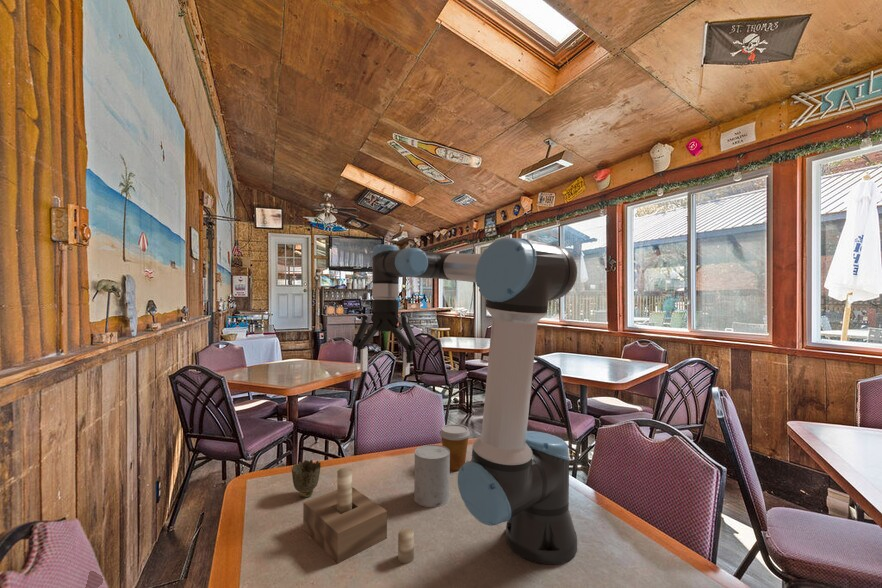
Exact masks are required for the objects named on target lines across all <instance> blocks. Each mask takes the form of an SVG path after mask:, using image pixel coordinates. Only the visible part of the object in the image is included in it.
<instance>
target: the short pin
mask: <svg viewBox="0 0 882 588" xmlns="http://www.w3.org/2000/svg"><path fill="white" fill-rule="evenodd" d="M397 534H398V535H397V537H398V538H397V539H398V540H397V545H398V546H397V560H398V562H400V563H401V564H404V565H405V564H409V563H411V562H413V561H414V558H415V555H414V554H415V553H414V551H415V550H414V549H415V533H414V531H413V529H410V528H404V529H401V530H399V531H398V533H397Z"/></svg>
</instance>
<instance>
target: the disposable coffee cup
mask: <svg viewBox="0 0 882 588" xmlns="http://www.w3.org/2000/svg"><path fill="white" fill-rule="evenodd" d="M470 432H471V431H470V429H469V427H468V426H466V425H464V424H457V423H454V424H453V423H451V424H446V425H443V426H442V427H441V429H440V431H439V434H440V437H441V443H442V444H441V446H444V447H446V448H448V449H449V450H450V471H453V472H459V469H460V468H461V466H463V465H464V464H465V463H466V461H467V460H466V458H467V451H468V450H467V449H468V444H469V443H468V442H469V437H470V435H471V433H470Z"/></svg>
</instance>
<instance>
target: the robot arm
mask: <svg viewBox="0 0 882 588" xmlns="http://www.w3.org/2000/svg"><path fill="white" fill-rule="evenodd" d="M371 261H372V263H371V264H372V266H371V267H372V268H371V269H372V270H371V271H372V273H371V274H372V275H371V276H372V277H371V278H372V291H371V297H372V298H373V299H372V300H371V301H372V302H371V305H372V306H371V312H372V314H371V315H369V314H365V315H362V317H361V323H360V325H359V328H358V330H357V332H356V334H355V336H354V339H353V341H352V344H351V346H352V347H356V348H357V350H358V353H357V357H358V360H359V361H360V372H361V373H365V372H367V371H368V364H369V363H368V356H369V353H368V348H367V345H368V344H369V343H370V342H371V340H372V339H373V338H374V336H375V335H376V334H377V333H378V332H387V333H389V332H391V333H392V334H393V335H394V336H395V338H396V339H397V340H398V342H399V343H400V344H401V346H402V347H403V348H404V350H405V351H403V357H402V359H403V360H402V363H403V364H402V365H403V366H402V375H403V376H407V375H409V374H410V369H411V367H410V366H411V365H410V364H411V363H413V354H414V353H413V352H414V351H415V350H418V349H419V348H420V345H419V342H418V341H417V338H416V336H415V334H414V331H413V329H412V326H411V325H410V318H409V316H408V315H404V316H399V300H398V299H397V298H399V292H400V291H399V286H400V285H399V283H400V282H399V281H400V280H399V278H418V279H435V280H436V279H438V280H446V281H448V280H449V281H460V282H468V283H476V287H478V292H479V293H480V295H482V296H483V297H484V298H485V307H484V308H485V310H486V311H487V312H488V313H489V315H490V317H491V318H492V319H491V327H490V328H491V330H490V339H489V347H488V348H489V349H488V359H487V361H488V362H487V371H486V373H487V374H486V380H485V381H486V382H485V390H484V391H485V393H484V403H483V413H482V414H483V415H482V427H481V435H479V436H478V437H476V438H475V439H474V440H473V443H472V448H471V449H472V450H471V458H470V459H471V460H469V461H467V460H466V461H465V464H464V465H463V466H461V468H460V469H459V471H457V472H458V474H457V485H458V486H457V487H458V491H459V495H460V498H461V500H462V501H463V504H464V506H465V508H466V509H467V510H468V512H469V513H470V515H472V517H473V518H474V519H475V520H477V521H478V522H480V523H481V524H484V525H486V526H490V527H491V526H492V527H493V526H498V525H500V524H502V523H505V522H506V526H505V539H506V543H507V545H508V547H510V549H511V550H512V551H514V553H515V554H517V555H518V556H520V557H522V558H523V559H526V560H527V561H531V562H534V563H538V564H543V565H558V564H562V563H567V562H569V561H570V560H571V559H573V558H574V557H575V556H576V554H577V552H578V534H577V532H576V529H575V526H574V523H573V520H572V517H571V516H572V515H571V512H570V510H569V509H570V508H569V507H570V505H569V504H570V502H569V501H570V499H569V497H570V493H569V492H570V460H571V459H570V455H569V445H568V444H567V442H566V441H565V440H563V438H561V437H559V436H557V435H553V434H550V433H546V432H543V431H542V432H541V431H536V430H528V423H529V422H528V421H529V415H530V414H529V413H530V404H531V403H530V402H531V401H530V400H531V393H532V383H533V374H534V373H533V371H534V364H535V353H536V342H537V333H538V325H539V321H541V319H543V318H544V317H545V316H546V315H547V314H548V306H549V302H551V301H556V300H559V299H560V298H563V297H564V296H566V295H567V294H568V293H570V291H571V290H572V289H573V287H574V286H575V284H576V281H577V277H578V267H577V263H576V261H575V258H574V256H573V255H572V254H571V253H570V252H569V251H568V250H567V249H566V248H564V247H562V246H560V245H558V244H554V243H548V242H542V241H536V240H532V239H527V238H521V237H517V238H516V237H515V238H514V237H504V238H500V239H497V240H495V241H493V242H491V243H490V244H489V245H488V247H487V248H486V249H484V250H483V251H482V253H462V252H461V253H460V252H457V253H454V252H436V251H427V250H422V249H421V248H418V247H405V248H403V249H400V248H399V246H398V245H395V244H386V243H385V244H384V243H383V244H376V245H374V246H373V249H372V257H371ZM371 322H372V324H373V325H372V326H371V327H370V328H369V331H368V332H367V330H368V327H369V325H370V323H371ZM398 323H400V324H401V326H402V329H403V331H404V333H405V335H406V336H405V335H404V333H403V332H402V331H401V327H399V325H398ZM366 332H367V333H366Z"/></svg>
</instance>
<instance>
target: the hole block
mask: <svg viewBox="0 0 882 588" xmlns="http://www.w3.org/2000/svg"><path fill="white" fill-rule="evenodd" d="M302 507H303V509H302V510H303V511H302V514H303V515H302V518H303V519H302V529H303V530H304V531H305V532H306V533H307V534H308V535H309V536H310V537H311V539H312V540H314V542H316V544H318V546H320V547H321V549H323V550H324V552H325V553H326V554H327V555H329V557H330V558H332V560H334V561H335V562H336V564H340V563H341V562H342V563H343V562H344V561H346V560H348V559H349V558H351V557H353V556H355V555H357V554H359V553H362V552H363V551H365V550H367V549H369V548H370V547H372V546H375V545H376V544H379V543H380V542H382V541H384V540H386V539H387V538H388V510H387V509H386V508H384V507H382V506H381V505H380V504H378V503H376V502H375V501H374V500H372V499H371V498H369V497H367V496H366V495H365V494H363V493H362V492H360V491H359V490H357V489H356V488H354V487H353V486H352V510H349V511H347V512H345V513H342V514H340V513H338V512H337V489H336V490H333V491H330V492H328V493H325V494H323V495H319V496H316V497H315V498H311V499H309V500H306V501H303V506H302Z"/></svg>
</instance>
